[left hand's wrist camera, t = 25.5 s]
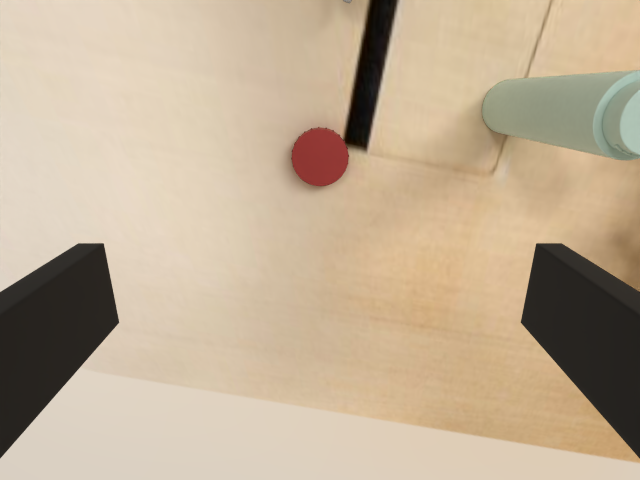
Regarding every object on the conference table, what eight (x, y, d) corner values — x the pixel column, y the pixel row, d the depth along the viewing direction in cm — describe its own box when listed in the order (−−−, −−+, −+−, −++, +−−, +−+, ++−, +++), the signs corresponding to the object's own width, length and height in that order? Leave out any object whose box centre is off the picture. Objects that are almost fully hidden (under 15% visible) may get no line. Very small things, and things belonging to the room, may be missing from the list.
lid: (358, 148, 39) (360, 150, 38) (326, 193, 41) (327, 197, 39) (312, 115, 38) (312, 116, 37) (281, 162, 40) (280, 165, 38)
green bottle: (489, 141, 39) (619, 178, 22) (475, 93, 38) (602, 93, 21) (539, 120, 39) (712, 142, 22) (526, 70, 37) (701, 50, 20)
